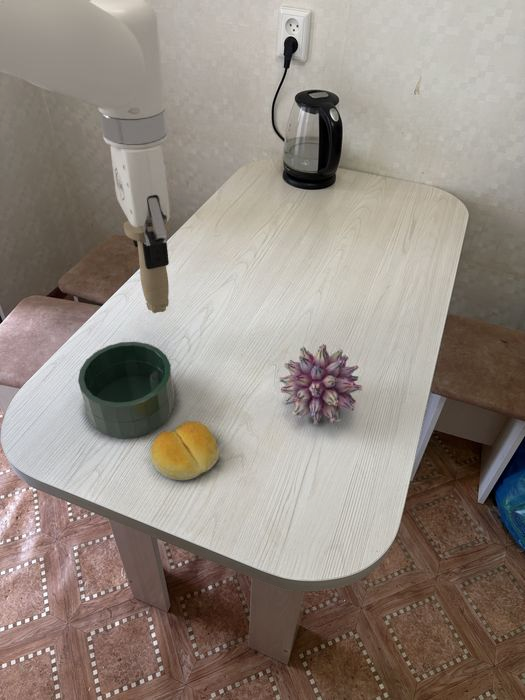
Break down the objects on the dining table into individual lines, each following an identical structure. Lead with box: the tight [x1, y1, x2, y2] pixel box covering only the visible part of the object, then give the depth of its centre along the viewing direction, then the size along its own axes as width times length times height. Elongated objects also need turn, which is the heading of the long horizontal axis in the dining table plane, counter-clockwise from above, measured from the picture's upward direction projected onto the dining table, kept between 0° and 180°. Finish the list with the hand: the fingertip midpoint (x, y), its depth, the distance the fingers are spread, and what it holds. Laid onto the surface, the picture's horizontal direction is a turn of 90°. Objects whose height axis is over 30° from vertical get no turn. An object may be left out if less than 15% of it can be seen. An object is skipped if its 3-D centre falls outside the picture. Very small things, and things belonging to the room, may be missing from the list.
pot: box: [77, 341, 175, 439], centre depth 73 cm, size 13×13×7 cm
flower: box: [278, 343, 363, 427], centre depth 73 cm, size 12×12×12 cm
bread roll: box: [150, 420, 220, 481], centre depth 68 cm, size 8×9×4 cm
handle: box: [123, 216, 172, 314], centre depth 74 cm, size 5×6×15 cm
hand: (151, 254), depth 72 cm, fingers closed on handle, 5 cm apart
